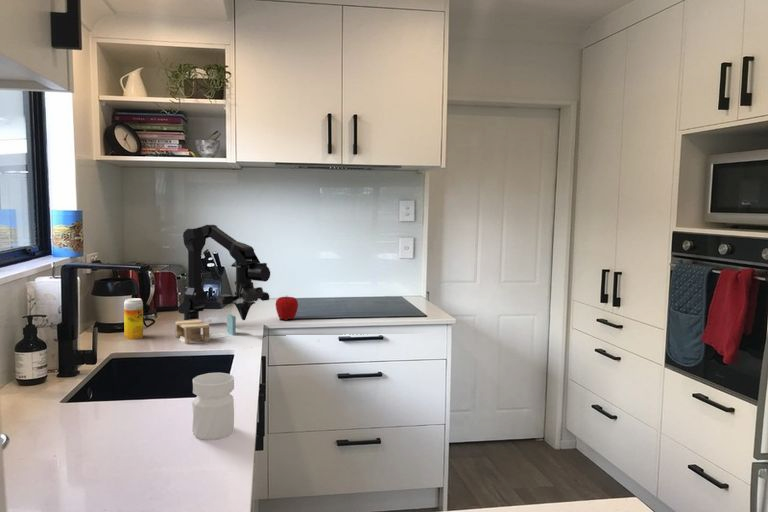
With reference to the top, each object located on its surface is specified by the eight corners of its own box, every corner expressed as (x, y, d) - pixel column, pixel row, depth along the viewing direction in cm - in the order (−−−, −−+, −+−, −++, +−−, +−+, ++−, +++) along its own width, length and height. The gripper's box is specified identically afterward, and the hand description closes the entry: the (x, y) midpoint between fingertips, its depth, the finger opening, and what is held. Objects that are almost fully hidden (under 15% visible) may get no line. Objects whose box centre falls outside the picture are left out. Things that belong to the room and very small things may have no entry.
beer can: (135, 343, 188) (135, 301, 187) (120, 342, 189) (120, 300, 188) (146, 339, 194) (146, 298, 193) (132, 338, 195) (131, 297, 194)
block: (183, 338, 191) (183, 326, 191) (196, 336, 194) (196, 324, 194) (188, 341, 188) (187, 328, 187) (200, 339, 190) (200, 327, 190)
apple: (281, 323, 227) (281, 297, 226) (271, 319, 234) (271, 294, 233) (302, 320, 233) (302, 295, 232) (291, 316, 240) (291, 292, 239)
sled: (178, 341, 191) (177, 319, 190) (229, 334, 203) (229, 313, 202) (183, 344, 186) (183, 322, 185) (236, 337, 198) (236, 316, 197)
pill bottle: (214, 420, 123) (215, 370, 122) (242, 429, 119) (242, 377, 118) (183, 434, 116) (183, 380, 115) (211, 443, 112) (211, 388, 110)
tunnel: (175, 340, 193) (175, 321, 192) (197, 338, 198) (197, 318, 197) (186, 348, 184) (186, 327, 183) (209, 344, 189) (209, 324, 188)
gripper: (228, 283, 189) (228, 327, 191) (276, 280, 201) (275, 321, 202) (216, 279, 198) (216, 321, 199) (262, 276, 209) (262, 316, 211)
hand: (243, 320), depth 203 cm, fingers closed
